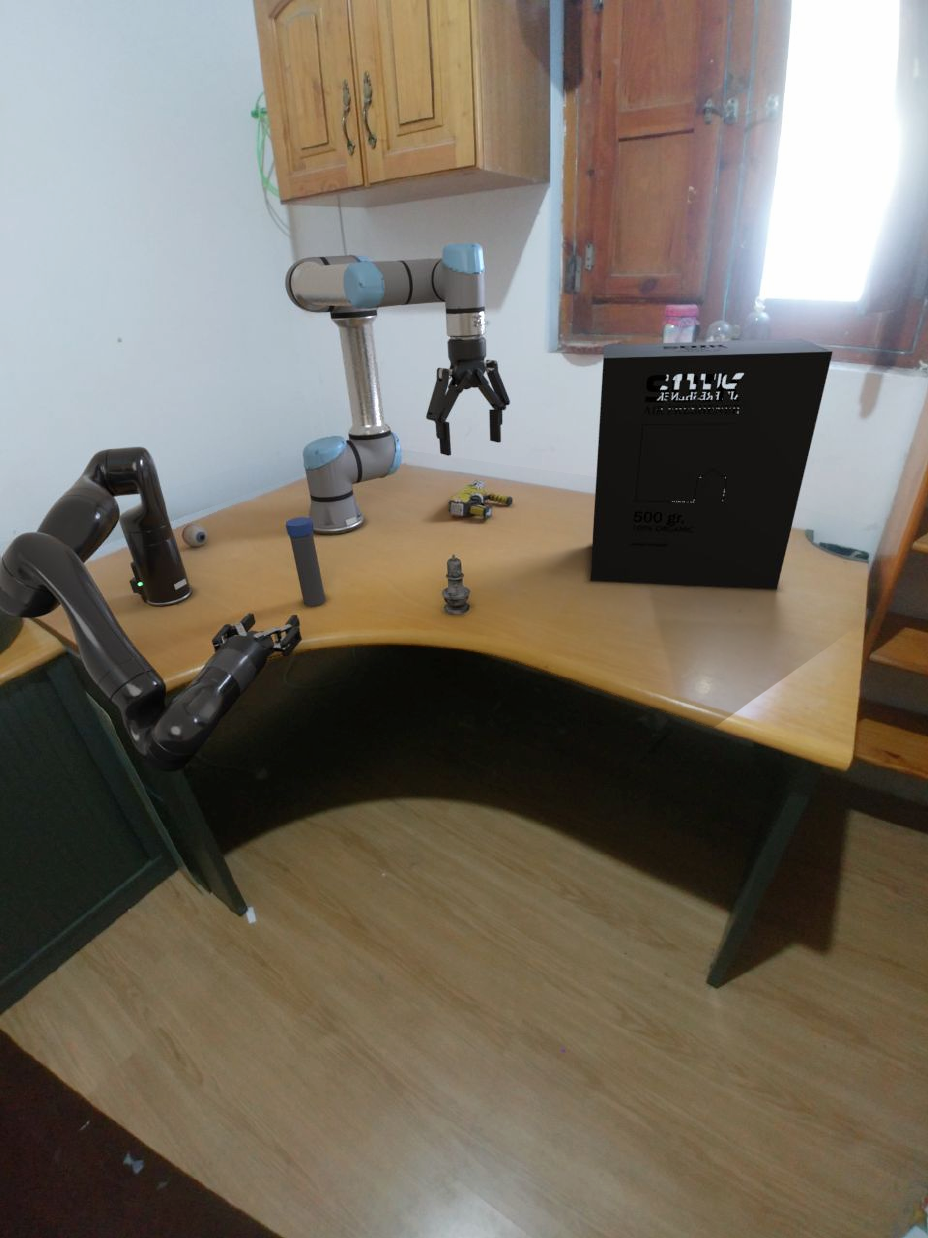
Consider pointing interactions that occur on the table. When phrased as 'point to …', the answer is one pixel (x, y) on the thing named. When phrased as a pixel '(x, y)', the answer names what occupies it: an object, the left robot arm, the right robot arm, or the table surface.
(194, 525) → the eyeball
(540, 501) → the table surface
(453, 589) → the dark grey chess piece
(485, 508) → the toy gun
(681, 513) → the cardboard box
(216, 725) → the left robot arm
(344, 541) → the table surface
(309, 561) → the dark gray cylinder
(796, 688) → the table surface
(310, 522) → the lid
